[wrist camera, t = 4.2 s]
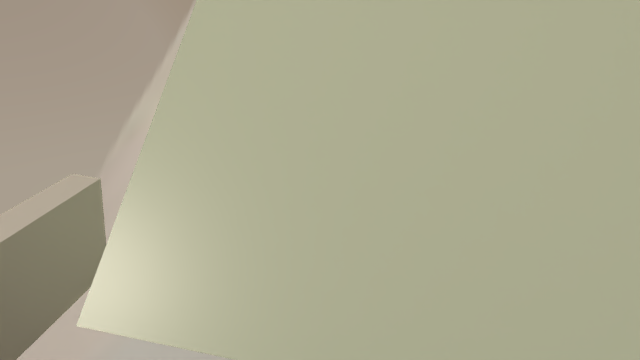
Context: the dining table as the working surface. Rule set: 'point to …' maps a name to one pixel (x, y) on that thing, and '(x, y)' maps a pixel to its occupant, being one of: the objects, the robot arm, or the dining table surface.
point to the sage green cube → (387, 185)
